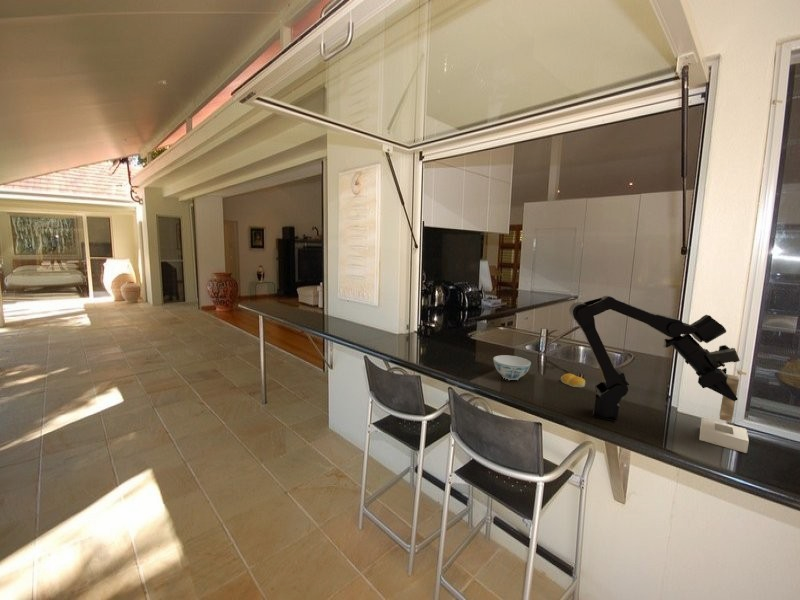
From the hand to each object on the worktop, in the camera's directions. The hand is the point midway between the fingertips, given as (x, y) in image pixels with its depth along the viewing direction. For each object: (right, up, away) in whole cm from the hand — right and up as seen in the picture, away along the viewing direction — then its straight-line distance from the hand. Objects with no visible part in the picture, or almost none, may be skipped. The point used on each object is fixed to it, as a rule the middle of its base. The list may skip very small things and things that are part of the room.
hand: (735, 397), depth 102 cm
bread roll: (-25, -7, +45) cm, 52 cm away
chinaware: (-49, -5, +49) cm, 69 cm away
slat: (-1, -6, +2) cm, 7 cm away
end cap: (-2, -13, +3) cm, 13 cm away
